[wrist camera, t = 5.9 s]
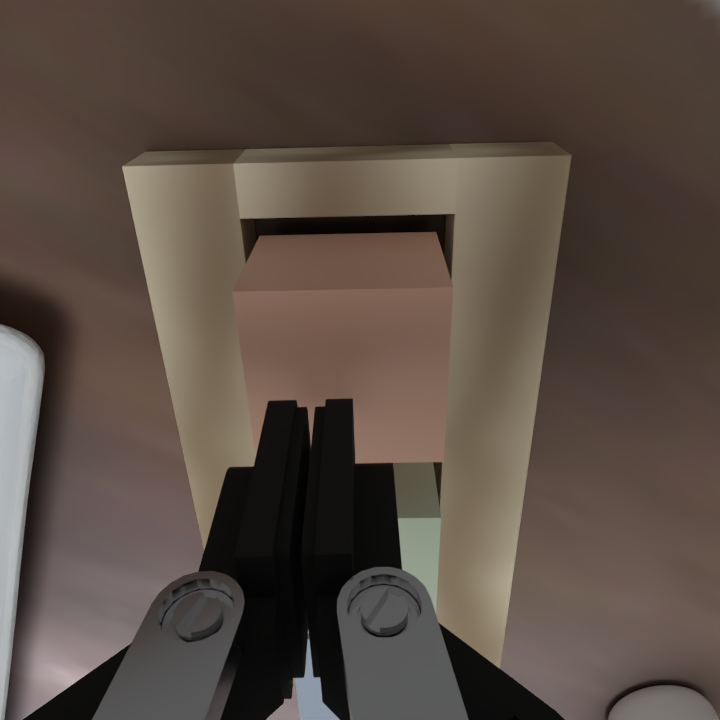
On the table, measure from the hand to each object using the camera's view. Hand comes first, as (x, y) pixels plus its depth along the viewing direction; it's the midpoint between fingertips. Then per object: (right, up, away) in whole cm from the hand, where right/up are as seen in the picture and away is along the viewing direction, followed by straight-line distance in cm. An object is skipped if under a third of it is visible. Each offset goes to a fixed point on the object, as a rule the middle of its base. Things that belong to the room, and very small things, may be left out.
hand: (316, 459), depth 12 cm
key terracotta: (+1, +3, +6) cm, 7 cm away
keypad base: (+1, -2, +11) cm, 12 cm away
